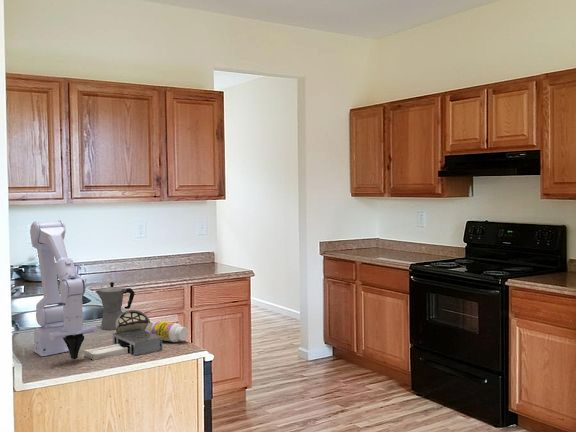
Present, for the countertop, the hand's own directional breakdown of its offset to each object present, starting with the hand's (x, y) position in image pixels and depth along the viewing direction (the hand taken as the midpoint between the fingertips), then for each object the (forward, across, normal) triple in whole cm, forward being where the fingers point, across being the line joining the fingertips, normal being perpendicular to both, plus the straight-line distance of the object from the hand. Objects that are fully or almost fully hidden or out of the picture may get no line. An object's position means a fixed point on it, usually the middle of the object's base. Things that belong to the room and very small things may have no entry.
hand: (74, 358), depth 182 cm
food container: (-1, +25, +14) cm, 29 cm away
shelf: (+1, +22, 0) cm, 22 cm away
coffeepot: (+1, +29, +33) cm, 44 cm away
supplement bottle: (-2, +32, +6) cm, 33 cm away
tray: (+1, +11, 0) cm, 11 cm away
